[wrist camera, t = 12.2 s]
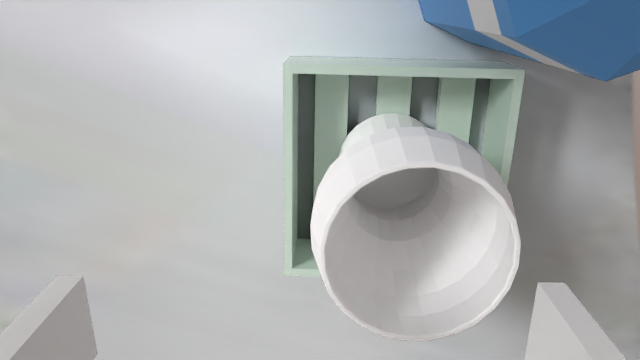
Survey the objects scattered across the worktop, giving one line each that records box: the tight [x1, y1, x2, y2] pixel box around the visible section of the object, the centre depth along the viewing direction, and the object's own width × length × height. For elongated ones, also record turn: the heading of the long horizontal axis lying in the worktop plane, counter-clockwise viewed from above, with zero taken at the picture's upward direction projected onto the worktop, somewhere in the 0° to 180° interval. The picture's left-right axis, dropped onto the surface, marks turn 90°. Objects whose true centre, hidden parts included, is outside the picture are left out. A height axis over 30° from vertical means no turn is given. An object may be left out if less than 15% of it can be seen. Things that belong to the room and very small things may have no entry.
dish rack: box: [283, 56, 525, 277], centre depth 37 cm, size 15×15×5 cm
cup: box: [310, 113, 521, 341], centre depth 31 cm, size 11×11×15 cm
